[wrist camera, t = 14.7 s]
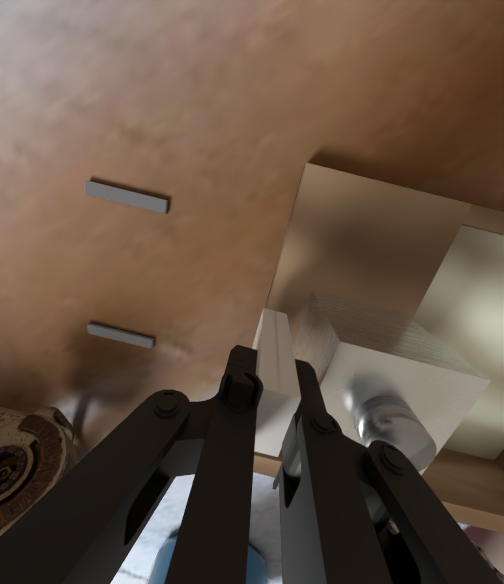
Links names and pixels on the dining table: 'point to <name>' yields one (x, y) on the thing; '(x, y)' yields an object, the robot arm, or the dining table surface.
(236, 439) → the robot arm
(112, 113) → the dining table surface
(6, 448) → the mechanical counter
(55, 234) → the dining table surface
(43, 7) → the dining table surface
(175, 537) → the wine bottle
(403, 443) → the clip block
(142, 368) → the dining table surface
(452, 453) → the wooden shallow box
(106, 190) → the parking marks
